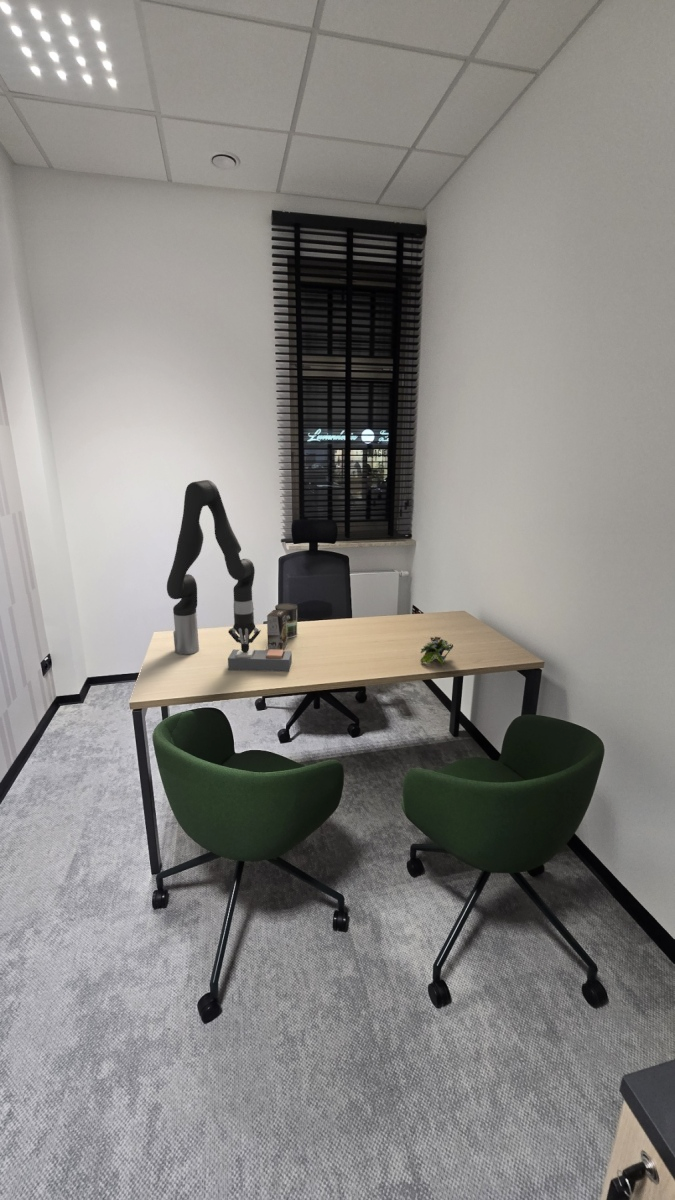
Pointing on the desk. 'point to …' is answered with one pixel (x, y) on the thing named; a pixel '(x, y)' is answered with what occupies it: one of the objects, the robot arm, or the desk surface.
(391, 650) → the desk surface
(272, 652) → the terracotta key
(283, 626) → the coffee box
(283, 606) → the coffee can
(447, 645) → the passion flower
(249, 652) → the offwhite key
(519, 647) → the desk surface
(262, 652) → the key console
